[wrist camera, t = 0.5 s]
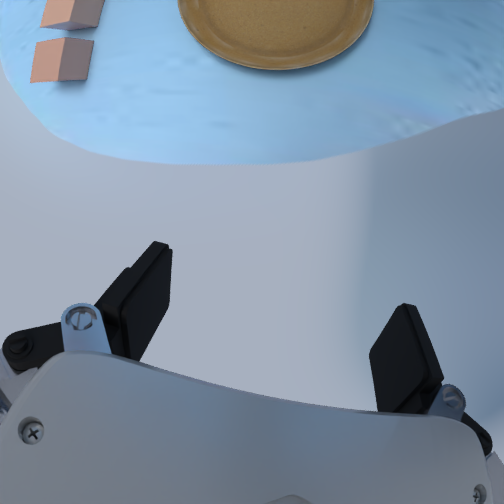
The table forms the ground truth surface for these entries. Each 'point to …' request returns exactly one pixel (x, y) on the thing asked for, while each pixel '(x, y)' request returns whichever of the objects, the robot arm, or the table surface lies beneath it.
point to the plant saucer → (276, 29)
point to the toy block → (71, 14)
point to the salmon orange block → (61, 60)
